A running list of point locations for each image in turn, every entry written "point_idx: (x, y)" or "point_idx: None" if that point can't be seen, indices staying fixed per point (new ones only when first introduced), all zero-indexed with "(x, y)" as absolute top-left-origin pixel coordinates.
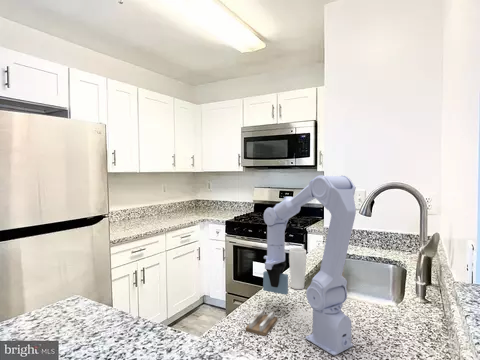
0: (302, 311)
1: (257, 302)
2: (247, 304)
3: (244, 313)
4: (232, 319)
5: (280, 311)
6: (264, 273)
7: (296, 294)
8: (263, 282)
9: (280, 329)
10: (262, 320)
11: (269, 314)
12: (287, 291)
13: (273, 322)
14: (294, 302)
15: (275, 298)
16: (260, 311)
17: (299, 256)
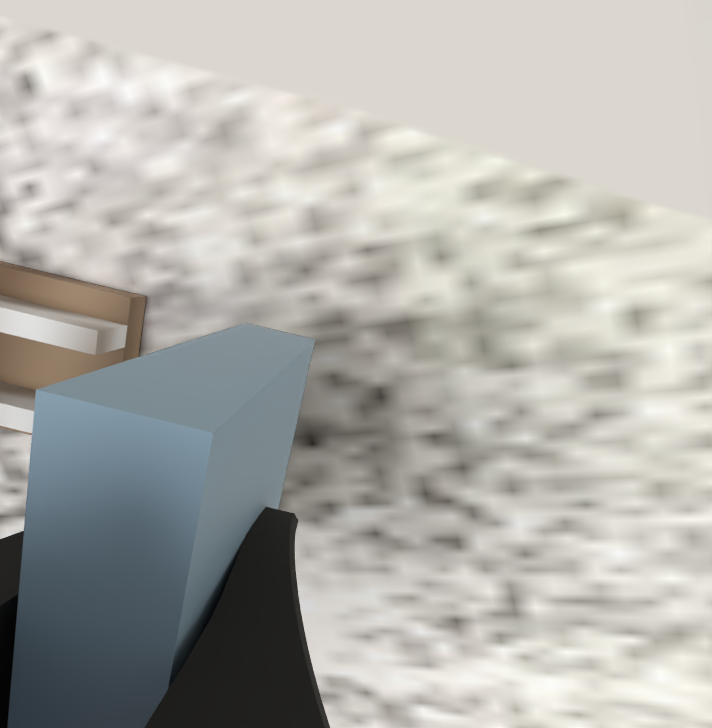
0: (336, 610)
1: (426, 229)
2: (356, 135)
3: (159, 152)
4: (15, 69)
5: (290, 454)
6: (60, 421)
7: (688, 571)
8: (194, 343)
9: (14, 472)
10: (16, 344)
11: (10, 410)
12: None
13: (18, 431)
14: (496, 555)
15: (558, 390)
16: (37, 322)
17: None
